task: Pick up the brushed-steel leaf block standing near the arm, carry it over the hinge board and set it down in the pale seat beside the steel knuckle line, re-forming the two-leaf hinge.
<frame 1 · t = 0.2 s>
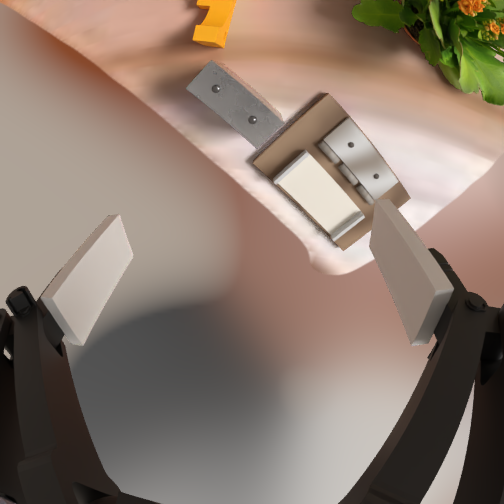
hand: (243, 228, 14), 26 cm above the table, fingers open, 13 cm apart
leaf seat: (319, 192, 40), resting on hinge board
pipe clamp: (217, 7, 26), on the table
hinge board: (324, 162, 38), on the table
potted flower: (421, 17, 23), on the table
leaf block: (242, 98, 33), on the table
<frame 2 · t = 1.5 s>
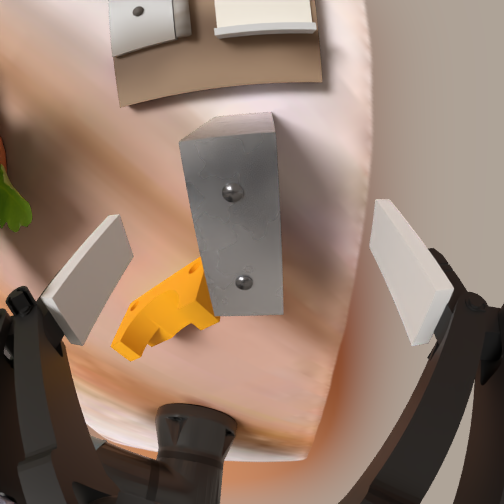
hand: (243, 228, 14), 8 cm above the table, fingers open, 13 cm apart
pipe clamp: (181, 291, 28), on the table
hinge board: (208, 1, 13), on the table
leaf block: (249, 179, 21), on the table
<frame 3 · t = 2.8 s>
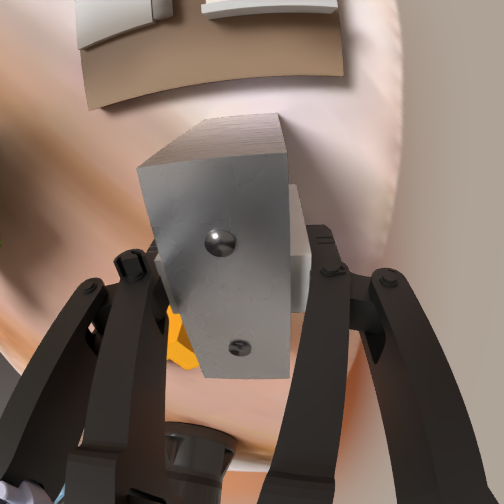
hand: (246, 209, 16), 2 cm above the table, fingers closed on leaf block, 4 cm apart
pipe clamp: (168, 316, 24), on the table
leaf block: (248, 197, 17), on the table, touching gripper
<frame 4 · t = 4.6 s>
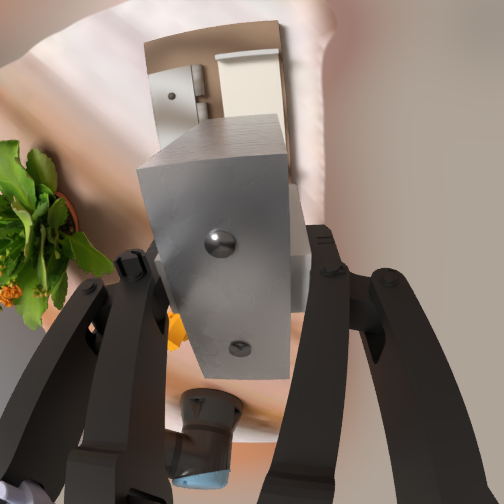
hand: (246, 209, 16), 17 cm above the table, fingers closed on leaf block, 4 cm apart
leaf seat: (254, 110, 28), resting on hinge board
pipe clamp: (203, 304, 44), on the table
hinge board: (223, 140, 30), on the table
potted flower: (59, 221, 36), on the table
leaf block: (248, 197, 17), point 15 cm above the table, touching gripper
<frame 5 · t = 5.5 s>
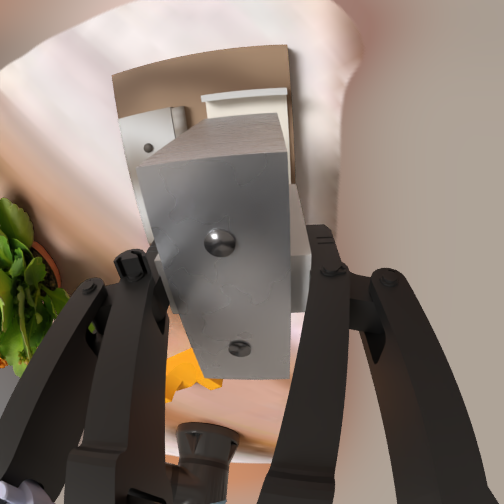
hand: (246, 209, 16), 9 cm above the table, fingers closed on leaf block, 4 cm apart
leaf seat: (253, 165, 23), resting on hinge board
pipe clamp: (195, 356, 39), on the table
hinge board: (215, 200, 25), on the table
potted flower: (40, 269, 32), on the table
leaf block: (248, 197, 17), point 7 cm above the table, touching gripper
when the fingers open (5 cm above the table, at t = 6.4 s): leaf block drops 1 cm, resting on leaf seat.
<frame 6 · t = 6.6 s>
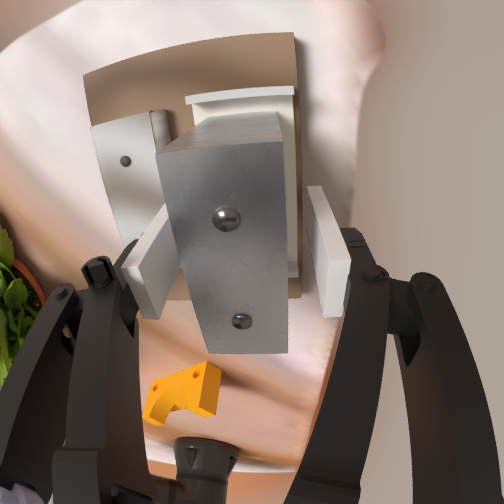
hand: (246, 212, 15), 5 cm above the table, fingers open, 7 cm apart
leaf seat: (251, 180, 19), resting on hinge board
pipe clamp: (188, 378, 36), on the table
hinge board: (207, 221, 21), on the table
potted flower: (25, 287, 28), on the table
leaf block: (249, 188, 18), point 1 cm above the table, touching leaf seat
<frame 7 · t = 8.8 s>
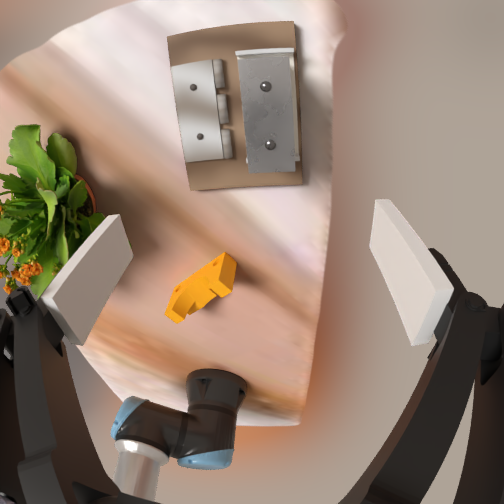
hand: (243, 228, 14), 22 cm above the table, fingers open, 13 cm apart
leaf seat: (269, 103, 29), resting on hinge board
pipe clamp: (208, 277, 46), on the table
hinge board: (240, 129, 32), on the table
potted flower: (76, 203, 39), on the table
leaf block: (269, 104, 28), point 1 cm above the table, touching leaf seat
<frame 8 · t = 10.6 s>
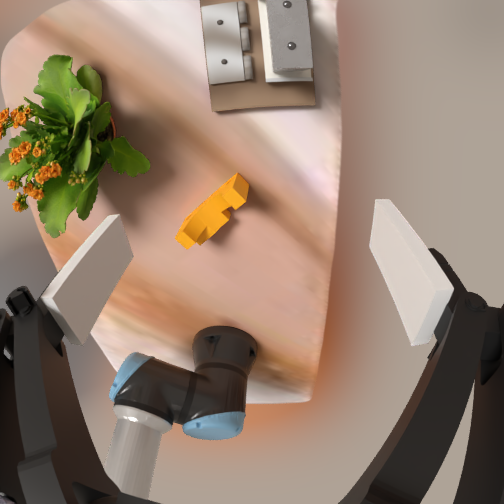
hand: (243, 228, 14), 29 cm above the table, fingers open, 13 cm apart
leaf seat: (284, 38, 30), resting on hinge board
pipe clamp: (219, 204, 45), on the table
hinge board: (259, 59, 32), on the table
potted flower: (95, 136, 39), on the table
leaf block: (284, 37, 29), point 1 cm above the table, touching leaf seat
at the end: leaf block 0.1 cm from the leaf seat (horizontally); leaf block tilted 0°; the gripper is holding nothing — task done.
